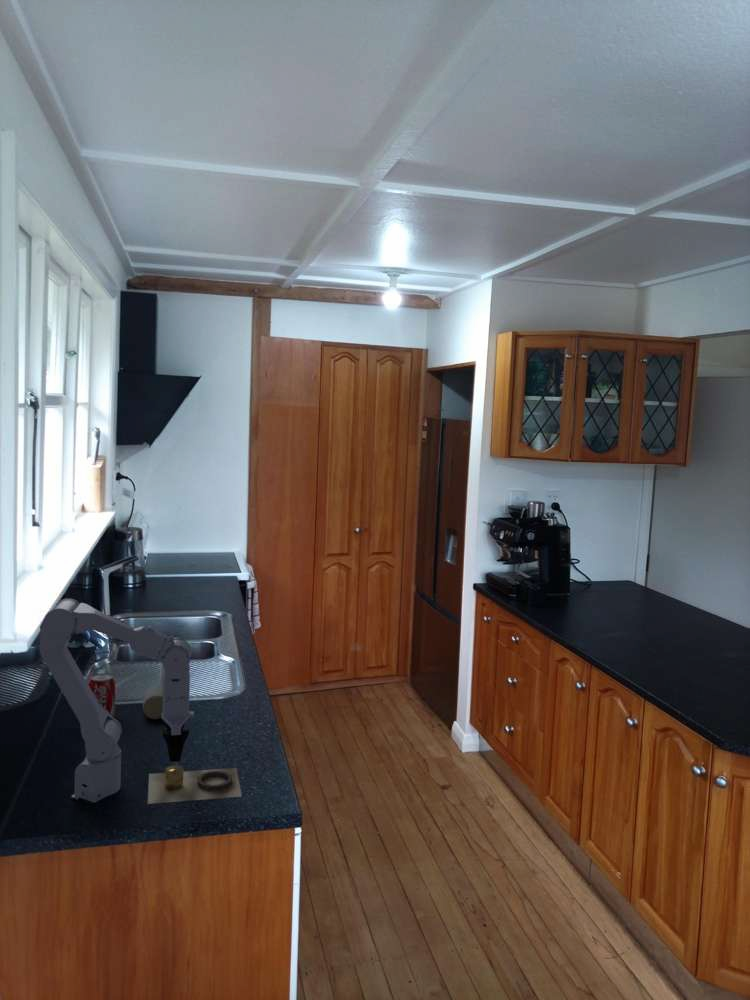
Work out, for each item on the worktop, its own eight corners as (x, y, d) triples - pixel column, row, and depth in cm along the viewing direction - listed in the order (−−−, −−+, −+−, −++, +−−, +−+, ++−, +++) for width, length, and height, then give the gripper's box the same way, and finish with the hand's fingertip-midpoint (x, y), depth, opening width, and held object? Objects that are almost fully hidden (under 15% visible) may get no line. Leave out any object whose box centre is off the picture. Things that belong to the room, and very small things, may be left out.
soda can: (86, 725, 207) (86, 681, 205) (88, 715, 213) (89, 673, 212) (114, 723, 209) (114, 680, 207) (115, 713, 215) (116, 672, 214)
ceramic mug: (141, 721, 211) (143, 694, 210) (142, 710, 219) (143, 684, 218) (181, 720, 214) (183, 693, 213) (181, 709, 222) (182, 683, 221)
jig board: (147, 808, 166) (147, 798, 166) (149, 778, 179) (149, 769, 179) (241, 800, 171) (242, 791, 171) (236, 772, 184) (236, 763, 184)
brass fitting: (183, 790, 172) (183, 772, 172) (164, 791, 171) (165, 774, 171) (182, 781, 176) (183, 764, 176) (164, 782, 175) (165, 766, 175)
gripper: (195, 705, 166) (194, 766, 167) (193, 682, 180) (192, 738, 181) (161, 707, 164) (160, 768, 165) (162, 683, 178) (161, 740, 179)
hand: (174, 753), depth 173 cm, fingers open, 7 cm apart
